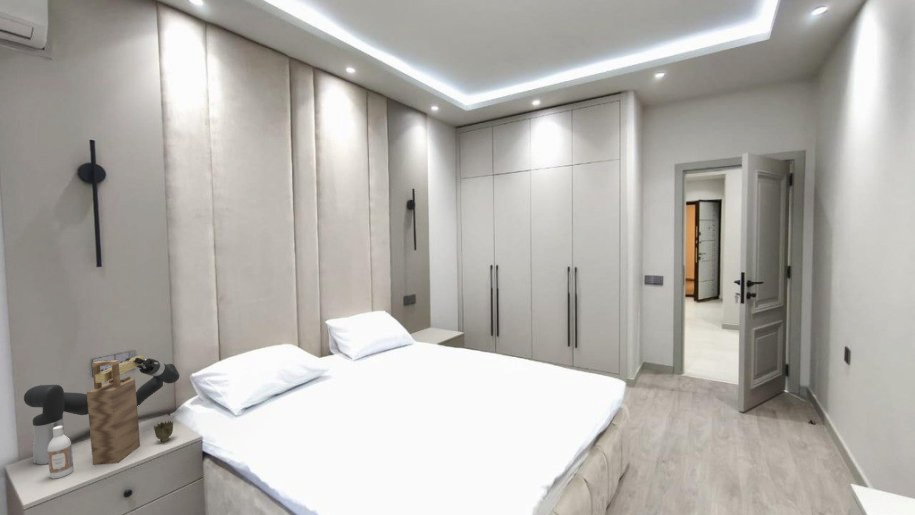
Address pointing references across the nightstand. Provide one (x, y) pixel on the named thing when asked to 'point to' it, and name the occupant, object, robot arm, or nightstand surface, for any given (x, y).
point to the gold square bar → (123, 368)
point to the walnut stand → (112, 417)
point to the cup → (164, 430)
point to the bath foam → (60, 454)
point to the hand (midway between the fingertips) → (131, 360)
